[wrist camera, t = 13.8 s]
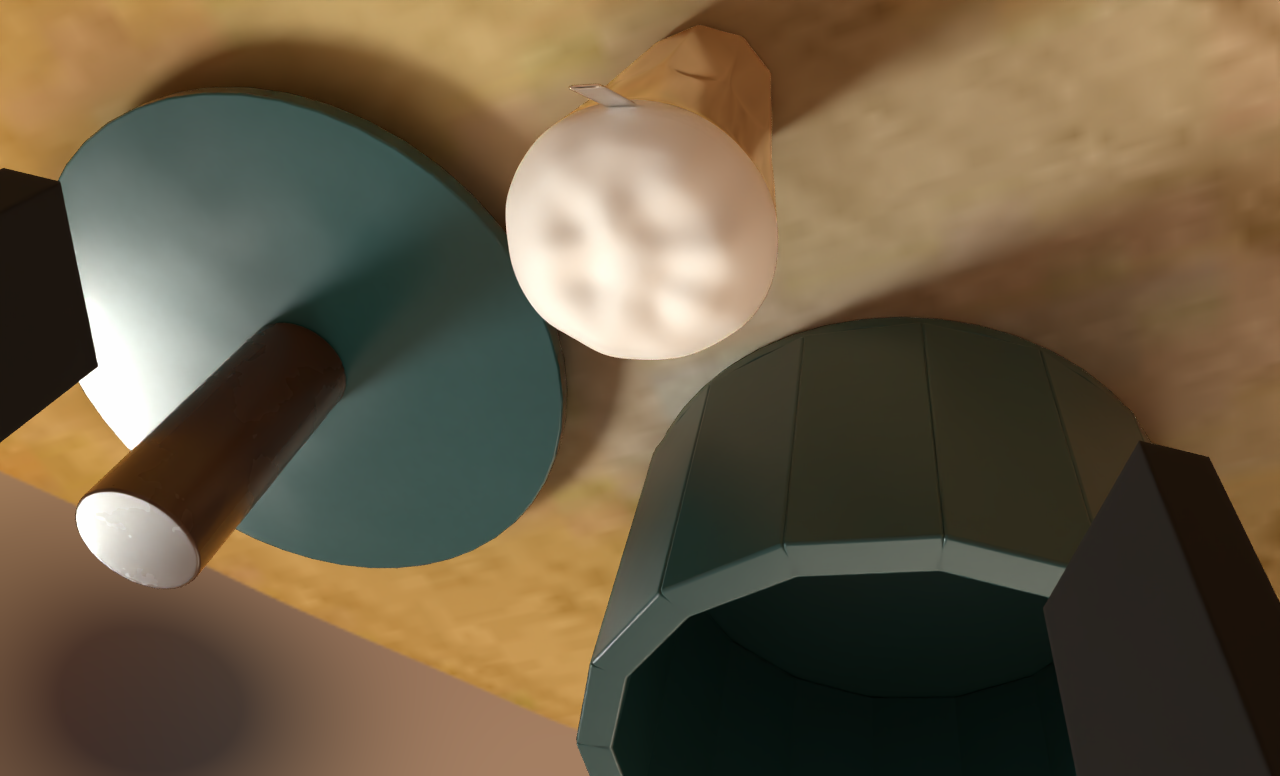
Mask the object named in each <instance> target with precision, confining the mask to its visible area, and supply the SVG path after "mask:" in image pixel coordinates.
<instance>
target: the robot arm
mask: <svg viewBox="0 0 1280 776" xmlns="http://www.w3.org/2000/svg"><path fill="white" fill-rule="evenodd" d="M97 367H98V362H97V357H96V352H95V348H94V343H93V338H92V333H91V328H90V323H89V318H88V314H87V309H86V304H85V299H84V294H83V289H82V284H81V279H80V275H79V270H78V265H77V260H76V255H75V250H74V245H73V241H72V236H71V231H70V226H69V221H68V216H67V211H66V207H65V202H64V197H63V192H62V187H61V182H59V181H55V180H51V179H47V178H43V177H39V176H34V175H30V174H26V173H22V172H18V171H14V170H9V169H5V168H3V169H0V442H2V441H3V440H4V439H5V438H7V437H8V436H9V435H11V434H12V433H13V432H14V431H16V430H17V429H18V428H20V427H21V426H22V425H23V424H25V423H26V422H27V421H29V420H30V419H31V418H33V417H34V416H35V415H36V414H38V413H39V412H40V411H42V410H43V409H44V408H45V407H47V406H48V405H49V404H51V403H52V402H53V401H54V400H56V399H57V398H58V397H60V396H61V395H62V394H63V393H65V392H66V391H67V390H69V389H70V388H71V387H72V386H74V385H75V384H76V383H78V382H79V381H80V380H82V379H83V378H84V377H85V376H87V375H88V374H89V373H91V372H92V371H93V370H94V369H96V368H97ZM1043 611H1044V616H1045V621H1046V626H1047V631H1048V636H1049V641H1050V646H1051V651H1052V656H1053V661H1054V665H1055V670H1056V675H1057V680H1058V685H1059V690H1060V695H1061V700H1062V705H1063V710H1064V715H1065V720H1066V725H1067V730H1068V735H1069V740H1070V745H1071V750H1072V755H1073V760H1074V765H1075V769H1076V774H1077V776H1280V602H1279V600H1278V598H1277V596H1276V594H1275V592H1274V590H1273V588H1272V586H1271V584H1270V582H1269V580H1268V578H1267V575H1266V573H1265V571H1264V569H1263V567H1262V565H1261V563H1260V561H1259V559H1258V557H1257V555H1256V553H1255V551H1254V549H1253V547H1252V545H1251V543H1250V540H1249V538H1248V536H1247V534H1246V532H1245V530H1244V528H1243V526H1242V524H1241V522H1240V520H1239V518H1238V516H1237V514H1236V512H1235V510H1234V508H1233V506H1232V503H1231V501H1230V499H1229V497H1228V495H1227V493H1226V491H1225V489H1224V487H1223V485H1222V483H1221V481H1220V479H1219V477H1218V475H1217V473H1216V471H1215V469H1214V466H1213V464H1212V462H1211V460H1210V458H1209V457H1206V456H1202V455H1198V454H1194V453H1190V452H1185V451H1181V450H1177V449H1173V448H1169V447H1165V446H1160V445H1156V444H1152V443H1148V442H1144V441H1140V440H1139V442H1138V444H1137V445H1136V447H1135V449H1134V451H1133V452H1132V454H1131V456H1130V458H1129V459H1128V461H1127V463H1126V464H1125V466H1124V468H1123V470H1122V471H1121V473H1120V475H1119V477H1118V478H1117V480H1116V482H1115V484H1114V485H1113V487H1112V489H1111V491H1110V492H1109V494H1108V496H1107V498H1106V499H1105V501H1104V503H1103V505H1102V506H1101V508H1100V510H1099V512H1098V513H1097V515H1096V517H1095V518H1094V520H1093V522H1092V524H1091V525H1090V527H1089V529H1088V531H1087V532H1086V534H1085V536H1084V538H1083V539H1082V541H1081V543H1080V545H1079V546H1078V548H1077V550H1076V552H1075V553H1074V555H1073V557H1072V559H1071V560H1070V562H1069V564H1068V565H1067V567H1066V569H1065V571H1064V572H1063V574H1062V576H1061V578H1060V579H1059V581H1058V583H1057V585H1056V586H1055V588H1054V590H1053V592H1052V593H1051V595H1050V597H1049V599H1048V600H1047V602H1046V604H1045V606H1044V607H1043Z"/></svg>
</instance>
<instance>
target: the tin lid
mask: <svg viewBox="0 0 1280 776" xmlns="http://www.w3.org/2000/svg"><path fill="white" fill-rule="evenodd" d="M58 181H59V182H61V187H62V192H63V197H64V202H65V207H66V211H67V216H68V221H69V226H70V231H71V236H72V241H73V245H74V250H75V255H76V260H77V265H78V270H79V275H80V279H81V284H82V289H83V294H84V299H85V304H86V309H87V314H88V318H89V323H90V328H91V333H92V338H93V343H94V348H95V352H96V357H97V362H98V367H97V368H96V369H94V370H93V371H92V372H91V373H89V374H88V375H87V376H85V377H84V378H83V379H82V380H80V381H79V384H80V385H81V387H82V389H83V391H84V392H85V394H86V395H87V397H88V398H89V400H90V401H91V402H92V404H93V405H94V407H95V408H96V410H97V411H98V412H99V414H100V415H101V417H102V418H103V420H104V421H105V422H106V423H107V424H108V426H109V427H110V428H111V429H112V430H113V431H114V433H115V434H116V435H117V436H118V437H119V439H120V440H121V441H122V442H123V443H124V445H125V446H126V447H127V448H128V449H129V450H130V452H129V453H128V454H127V455H126V456H125V457H124V458H123V459H122V460H121V461H120V462H119V463H118V464H117V465H116V466H115V467H113V468H112V469H111V470H110V471H109V472H108V473H107V474H106V475H105V476H104V477H103V478H102V479H101V480H100V481H99V482H98V483H97V484H96V485H95V486H93V487H92V488H91V489H90V490H89V491H88V492H87V493H86V494H85V495H84V496H83V497H82V498H81V500H80V501H79V503H78V505H77V508H76V513H75V520H76V525H77V528H78V531H79V533H80V536H81V538H82V539H83V541H84V542H85V544H86V546H87V547H88V548H89V549H90V551H91V552H92V553H93V554H94V555H95V556H96V557H97V558H98V559H99V560H100V561H101V562H102V563H104V564H105V565H106V566H107V567H108V568H110V569H111V570H113V571H114V572H116V573H117V574H119V575H121V576H123V577H124V578H126V579H128V580H130V581H133V582H135V583H138V584H141V585H144V586H147V587H152V588H158V589H174V588H179V587H182V586H184V585H186V584H189V583H190V582H191V581H193V580H194V579H195V578H196V577H197V576H198V574H199V573H200V572H201V570H202V569H203V568H204V567H205V566H206V564H207V563H208V562H209V561H210V560H211V558H212V557H213V556H214V555H215V553H216V552H217V551H218V550H219V548H220V547H221V546H222V545H223V543H224V542H225V541H226V540H227V539H228V537H229V536H230V535H231V534H232V532H233V531H234V530H235V529H236V530H238V531H240V532H242V533H244V534H246V535H248V536H250V537H252V538H254V539H257V540H259V541H262V542H264V543H267V544H269V545H272V546H274V547H277V548H279V549H282V550H285V551H288V552H291V553H295V554H298V555H301V556H305V557H308V558H311V559H316V560H320V561H325V562H330V563H335V564H340V565H348V566H357V567H366V568H402V567H411V566H421V565H427V564H431V563H435V562H440V561H444V560H448V559H451V558H454V557H456V556H459V555H462V554H464V553H467V552H470V551H472V550H474V549H476V548H478V547H480V546H481V545H483V544H485V543H487V542H489V541H490V540H492V539H494V538H496V537H497V536H498V535H500V534H501V533H502V532H503V531H505V530H506V529H507V528H508V527H510V526H511V525H512V524H513V523H515V522H516V521H517V520H518V519H519V518H520V516H521V515H522V514H523V513H524V512H525V511H526V510H527V509H528V507H529V506H530V505H531V504H532V503H533V502H534V500H535V498H536V497H537V495H538V493H539V492H540V490H541V489H542V487H543V485H544V484H545V482H546V480H547V478H548V476H549V474H550V471H551V469H552V466H553V464H554V461H555V459H556V456H557V454H558V451H559V449H560V445H561V441H562V436H563V431H564V427H565V422H566V409H567V382H566V373H565V363H564V357H563V353H562V349H561V345H560V341H559V337H558V333H557V329H556V328H555V327H553V326H552V325H551V324H549V323H548V322H547V321H546V320H544V319H543V318H542V317H541V316H540V315H539V314H538V313H537V311H536V310H535V309H534V308H533V306H532V305H531V304H530V302H529V301H528V299H527V297H526V296H525V294H524V292H523V291H522V289H521V287H520V285H519V283H518V280H517V278H516V275H515V272H514V270H513V266H512V263H511V259H510V254H509V247H508V240H507V234H506V233H505V231H504V230H503V229H502V227H501V226H500V225H499V224H498V223H497V221H496V220H495V219H494V218H493V217H492V216H491V215H490V214H489V212H488V211H487V210H486V209H485V208H484V207H483V206H482V205H481V204H480V202H479V201H478V200H477V199H476V198H475V197H474V196H473V195H472V194H471V193H470V192H469V191H468V190H467V189H465V188H464V187H463V186H462V185H461V184H460V183H459V182H458V181H457V180H455V179H454V178H453V177H452V176H451V175H450V174H449V173H448V172H446V171H445V170H444V169H443V168H442V167H441V166H439V165H438V164H437V163H435V162H434V161H432V160H431V159H430V158H428V157H427V156H425V155H424V154H423V153H421V152H420V151H418V150H417V149H416V148H414V147H413V146H411V145H410V144H409V143H407V142H406V141H404V140H402V139H400V138H399V137H397V136H395V135H393V134H391V133H390V132H388V131H386V130H384V129H382V128H381V127H379V126H377V125H375V124H374V123H372V122H370V121H368V120H366V119H363V118H361V117H358V116H356V115H354V114H351V113H349V112H347V111H344V110H342V109H339V108H337V107H335V106H332V105H330V104H326V103H323V102H319V101H316V100H312V99H309V98H305V97H302V96H298V95H295V94H291V93H285V92H279V91H272V90H265V89H259V88H252V87H209V88H202V89H195V90H189V91H182V92H177V93H174V94H170V95H167V96H164V97H161V98H158V99H155V100H152V101H149V102H146V103H144V104H142V105H140V106H138V107H136V108H134V109H132V110H130V111H128V112H126V113H125V114H123V115H121V116H119V117H117V118H115V119H113V120H112V121H110V122H108V123H107V124H106V125H104V126H103V127H102V128H101V129H99V130H98V131H97V132H96V133H95V134H93V135H92V136H91V137H90V138H89V139H87V140H86V141H85V142H84V143H83V144H82V146H81V147H80V148H79V149H78V151H77V152H76V153H75V154H74V156H73V157H72V158H71V159H70V161H69V162H68V163H67V164H66V166H65V168H64V170H63V172H62V174H61V176H60V178H59V180H58Z"/></svg>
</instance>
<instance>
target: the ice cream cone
mask: <svg viewBox="0 0 1280 776" xmlns="http://www.w3.org/2000/svg"><path fill="white" fill-rule="evenodd" d="M569 89H570V90H572V91H574V92H576V93H578V94H581V95H583V96H585V97H587V98H589V100H587V101H586V102H585V103H583V104H582V105H581V106H579V107H578V108H576V109H575V110H574V111H572V112H571V113H570V114H568V115H567V116H565V117H564V118H563V119H561V120H560V121H558V122H557V123H555V124H554V125H552V126H551V127H550V128H549V129H547V130H546V131H545V132H544V133H543V134H542V135H541V136H540V137H539V138H538V139H537V140H536V141H535V142H534V144H533V145H532V146H531V147H530V149H529V150H528V152H527V153H526V155H525V156H524V158H523V159H522V161H521V163H520V165H519V166H518V168H517V170H516V173H515V175H514V177H513V180H512V183H511V185H510V189H509V192H508V196H507V202H506V232H507V240H508V247H509V254H510V259H511V263H512V266H513V270H514V272H515V275H516V278H517V280H518V283H519V285H520V287H521V289H522V291H523V292H524V294H525V296H526V297H527V299H528V301H529V302H530V304H531V305H532V306H533V308H534V309H535V310H536V311H537V313H538V314H539V315H540V316H541V317H542V318H543V319H544V320H546V321H547V322H548V323H549V324H551V325H552V326H553V327H555V328H557V329H558V330H560V331H562V332H563V333H565V334H567V335H569V336H570V337H572V338H574V339H576V340H577V341H579V342H581V343H583V344H584V345H586V346H588V347H589V348H591V349H593V350H595V351H597V352H599V353H602V354H604V355H608V356H611V357H617V358H625V359H640V360H661V359H672V358H679V357H684V356H688V355H691V354H694V353H697V352H699V351H702V350H704V349H706V348H709V347H711V346H713V345H714V344H716V343H718V342H720V341H721V340H723V339H725V338H726V337H728V336H730V335H731V334H733V333H734V332H736V331H737V330H738V329H740V328H741V327H742V326H743V325H744V324H746V323H747V322H748V321H749V320H750V319H751V318H752V316H753V315H754V314H755V313H756V312H757V310H758V309H759V307H760V306H761V304H762V302H763V301H764V299H765V297H766V295H767V293H768V291H769V288H770V286H771V283H772V280H773V276H774V272H775V268H776V262H777V254H778V226H777V213H776V199H775V185H774V174H773V165H772V158H771V154H772V97H771V72H770V71H769V70H768V68H767V67H766V66H765V64H764V63H763V62H762V61H761V59H760V58H759V57H758V55H757V54H756V53H755V52H754V50H753V49H752V48H751V46H750V45H749V44H748V43H747V41H746V40H745V39H744V37H743V36H740V35H736V34H732V33H728V32H725V31H721V30H717V29H714V28H710V27H707V26H703V25H696V26H694V27H692V28H689V29H687V30H684V31H682V32H680V33H677V34H675V35H672V36H670V37H668V38H665V39H663V40H660V41H658V42H656V43H655V44H654V45H653V46H651V47H650V48H649V49H648V50H647V51H646V52H644V53H643V54H642V55H641V56H640V57H639V58H637V59H636V60H635V61H634V62H633V63H632V64H630V65H629V66H628V67H627V68H626V69H625V70H623V71H622V72H621V73H620V74H619V75H618V76H616V77H615V78H614V79H613V80H612V81H611V82H610V83H608V84H607V85H606V86H603V85H601V84H583V85H571V86H569Z"/></svg>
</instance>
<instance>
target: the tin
mask: <svg viewBox="0 0 1280 776" xmlns="http://www.w3.org/2000/svg"><path fill="white" fill-rule="evenodd" d="M1139 440H1140V441H1144V442H1148V443H1151V441H1150V440H1149V438H1148V437H1147V435H1146V434H1145V432H1144V431H1143V429H1142V428H1141V426H1140V424H1139V423H1138V421H1137V419H1136V417H1135V415H1134V414H1133V412H1131V411H1130V409H1128V408H1127V407H1125V406H1124V405H1123V404H1122V403H1121V402H1120V401H1119V400H1118V399H1117V398H1116V396H1115V395H1114V394H1113V393H1112V392H1111V391H1110V390H1108V389H1107V388H1106V387H1105V386H1103V385H1102V384H1101V383H1100V382H1098V381H1097V380H1096V379H1094V378H1093V377H1092V376H1091V375H1089V374H1088V373H1087V372H1086V371H1084V370H1083V369H1081V368H1080V367H1078V366H1076V365H1074V364H1073V363H1071V362H1069V361H1068V360H1066V359H1064V358H1062V357H1061V356H1059V355H1057V354H1056V353H1054V352H1052V351H1050V350H1048V349H1045V348H1043V347H1041V346H1038V345H1036V344H1034V343H1031V342H1029V341H1026V340H1024V339H1022V338H1019V337H1017V336H1014V335H1011V334H1007V333H1004V332H1000V331H997V330H993V329H990V328H986V327H983V326H979V325H973V324H967V323H961V322H955V321H949V320H943V319H930V318H911V317H892V318H876V319H861V320H855V321H849V322H844V323H838V324H832V325H826V326H822V327H819V328H816V329H812V330H809V331H805V332H802V333H799V334H795V335H792V336H789V337H786V338H784V339H782V340H780V341H777V342H775V343H773V344H770V345H768V346H766V347H763V348H761V349H759V350H757V351H755V352H753V353H752V354H750V355H748V356H746V357H745V358H743V359H741V360H740V361H738V362H736V363H735V364H733V365H731V366H729V367H728V368H727V369H725V370H724V371H723V372H722V373H720V374H719V375H718V376H717V377H715V378H714V379H713V380H711V381H710V382H709V383H708V384H706V385H705V386H704V387H703V388H702V389H701V390H700V391H699V392H698V393H697V394H696V395H695V396H694V397H693V398H692V399H691V400H690V401H689V403H688V404H687V405H686V406H685V407H684V408H683V409H682V411H681V412H680V414H679V415H678V416H677V418H676V419H675V421H674V422H673V424H672V425H671V426H670V428H669V429H668V431H667V433H666V435H665V437H664V439H663V440H662V441H661V443H660V444H659V445H658V446H657V448H656V449H655V451H654V453H653V456H652V459H651V462H650V466H649V469H648V472H647V476H646V479H645V482H644V486H643V489H642V492H641V496H640V499H639V502H638V506H637V509H636V512H635V516H634V519H633V522H632V526H631V529H630V532H629V536H628V539H627V542H626V546H625V549H624V552H623V556H622V559H621V562H620V566H619V569H618V572H617V575H616V579H615V582H614V585H613V589H612V592H611V595H610V599H609V602H608V605H607V609H606V612H605V615H604V619H603V622H602V625H601V629H600V632H599V635H598V639H597V642H596V645H595V649H594V652H593V655H592V659H591V662H590V666H589V672H588V677H587V683H586V688H585V694H584V699H583V705H582V711H581V716H580V722H579V727H578V733H577V739H576V740H577V746H578V748H579V751H580V753H581V756H582V758H583V760H584V763H585V765H586V768H587V770H588V772H589V775H590V776H1077V774H1076V769H1075V765H1074V760H1073V755H1072V750H1071V745H1070V740H1069V735H1068V730H1067V725H1066V720H1065V715H1064V710H1063V705H1062V700H1061V695H1060V690H1059V685H1058V680H1057V675H1056V670H1055V665H1054V661H1053V656H1052V651H1051V646H1050V641H1049V636H1048V631H1047V626H1046V621H1045V616H1044V611H1043V607H1044V606H1045V604H1046V602H1047V600H1048V599H1049V597H1050V595H1051V593H1052V592H1053V590H1054V588H1055V586H1056V585H1057V583H1058V581H1059V579H1060V578H1061V576H1062V574H1063V572H1064V571H1065V569H1066V567H1067V565H1068V564H1069V562H1070V560H1071V559H1072V557H1073V555H1074V553H1075V552H1076V550H1077V548H1078V546H1079V545H1080V543H1081V541H1082V539H1083V538H1084V536H1085V534H1086V532H1087V531H1088V529H1089V527H1090V525H1091V524H1092V522H1093V520H1094V518H1095V517H1096V515H1097V513H1098V512H1099V510H1100V508H1101V506H1102V505H1103V503H1104V501H1105V499H1106V498H1107V496H1108V494H1109V492H1110V491H1111V489H1112V487H1113V485H1114V484H1115V482H1116V480H1117V478H1118V477H1119V475H1120V473H1121V471H1122V470H1123V468H1124V466H1125V464H1126V463H1127V461H1128V459H1129V458H1130V456H1131V454H1132V452H1133V451H1134V449H1135V447H1136V445H1137V444H1138V442H1139Z"/></svg>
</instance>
